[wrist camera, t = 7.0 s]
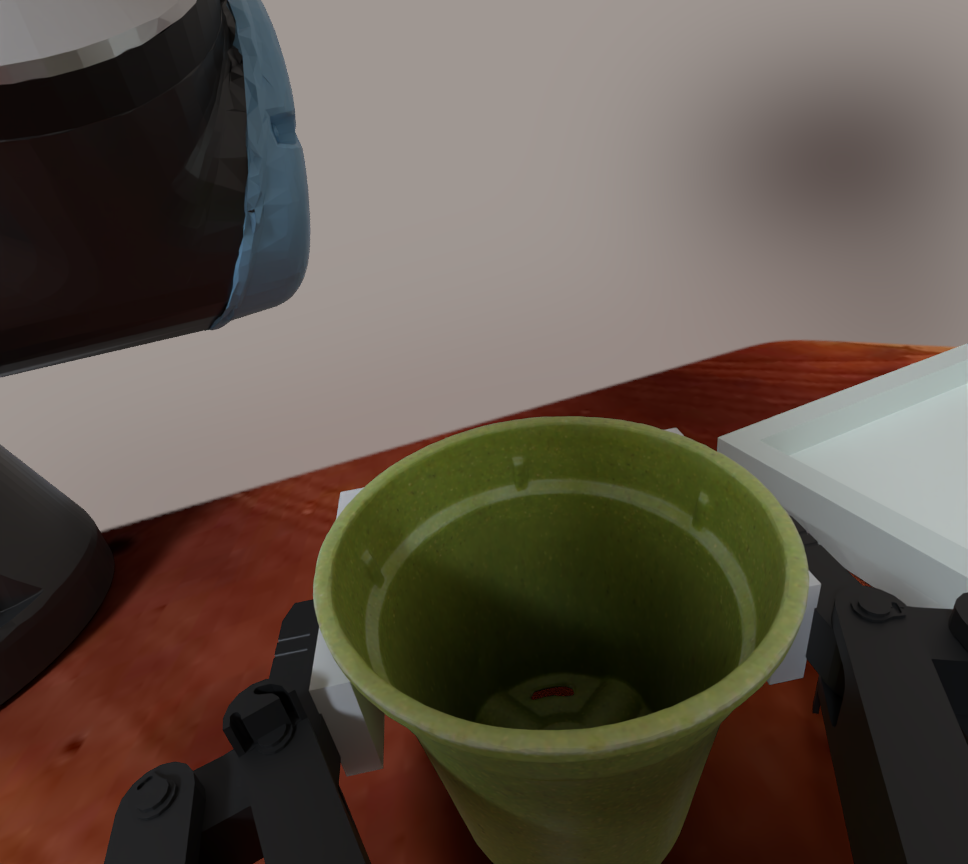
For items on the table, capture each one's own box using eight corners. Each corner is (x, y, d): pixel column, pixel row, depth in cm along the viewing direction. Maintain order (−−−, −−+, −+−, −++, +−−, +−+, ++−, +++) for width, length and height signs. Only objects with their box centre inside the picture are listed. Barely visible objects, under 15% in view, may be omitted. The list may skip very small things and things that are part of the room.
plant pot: (672, 614, 20) (677, 390, 16) (850, 958, 12) (959, 678, 8) (407, 662, 20) (342, 448, 16) (399, 1045, 12) (257, 808, 7)
